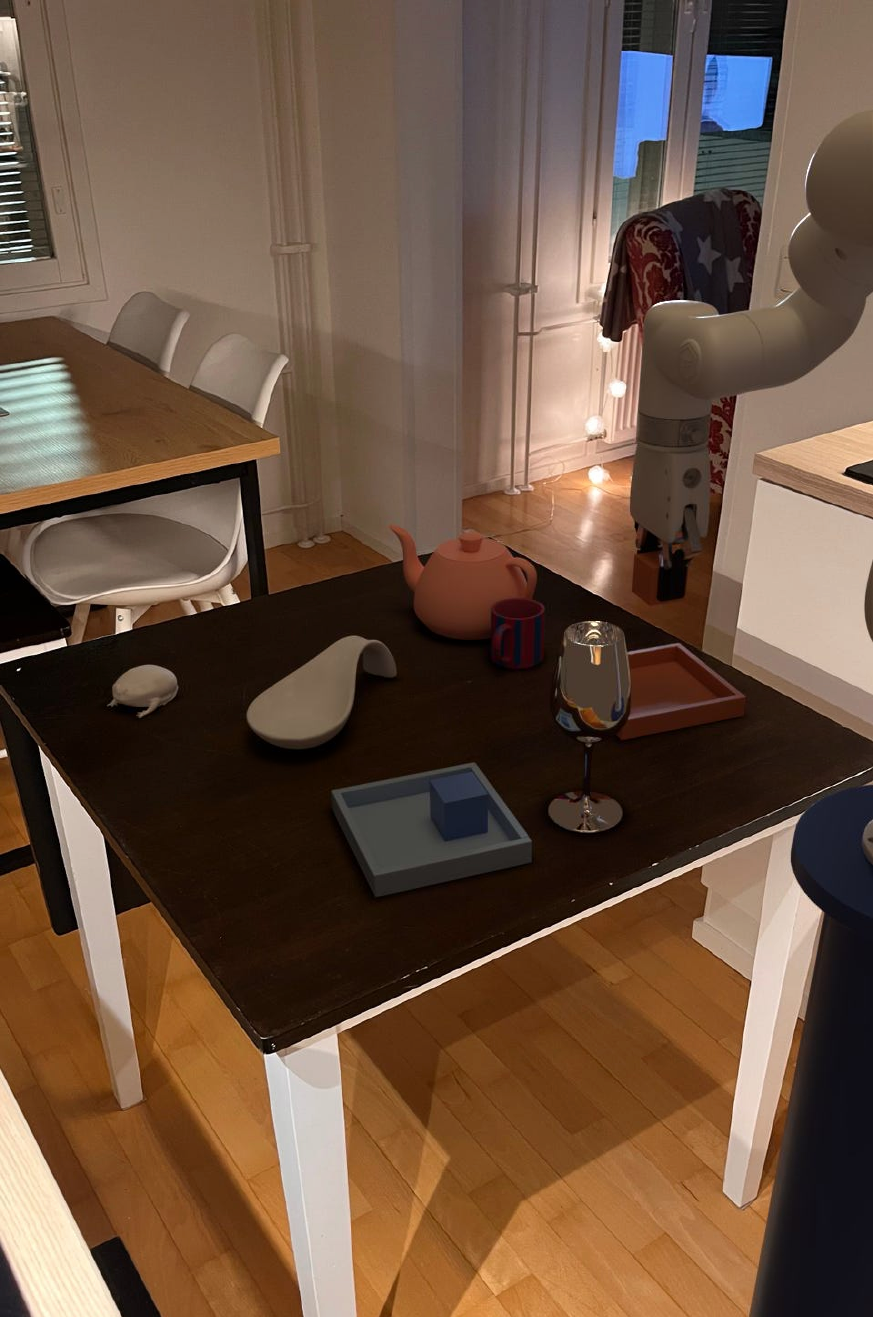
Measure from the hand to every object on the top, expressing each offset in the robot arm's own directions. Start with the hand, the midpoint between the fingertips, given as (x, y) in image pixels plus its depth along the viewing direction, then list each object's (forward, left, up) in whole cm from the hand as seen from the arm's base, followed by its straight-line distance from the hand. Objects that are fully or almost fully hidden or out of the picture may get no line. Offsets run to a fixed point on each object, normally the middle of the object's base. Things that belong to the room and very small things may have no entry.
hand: (659, 588), depth 134 cm
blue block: (-18, +31, -13) cm, 38 cm away
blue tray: (-18, +34, -14) cm, 41 cm away
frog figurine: (+22, +57, -14) cm, 63 cm away
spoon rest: (+10, +37, -14) cm, 41 cm away
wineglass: (-20, +18, -14) cm, 30 cm away
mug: (+15, +12, -14) cm, 24 cm away
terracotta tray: (0, 0, -14) cm, 14 cm away
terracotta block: (0, 0, -1) cm, 1 cm away
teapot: (+29, +13, -14) cm, 35 cm away
